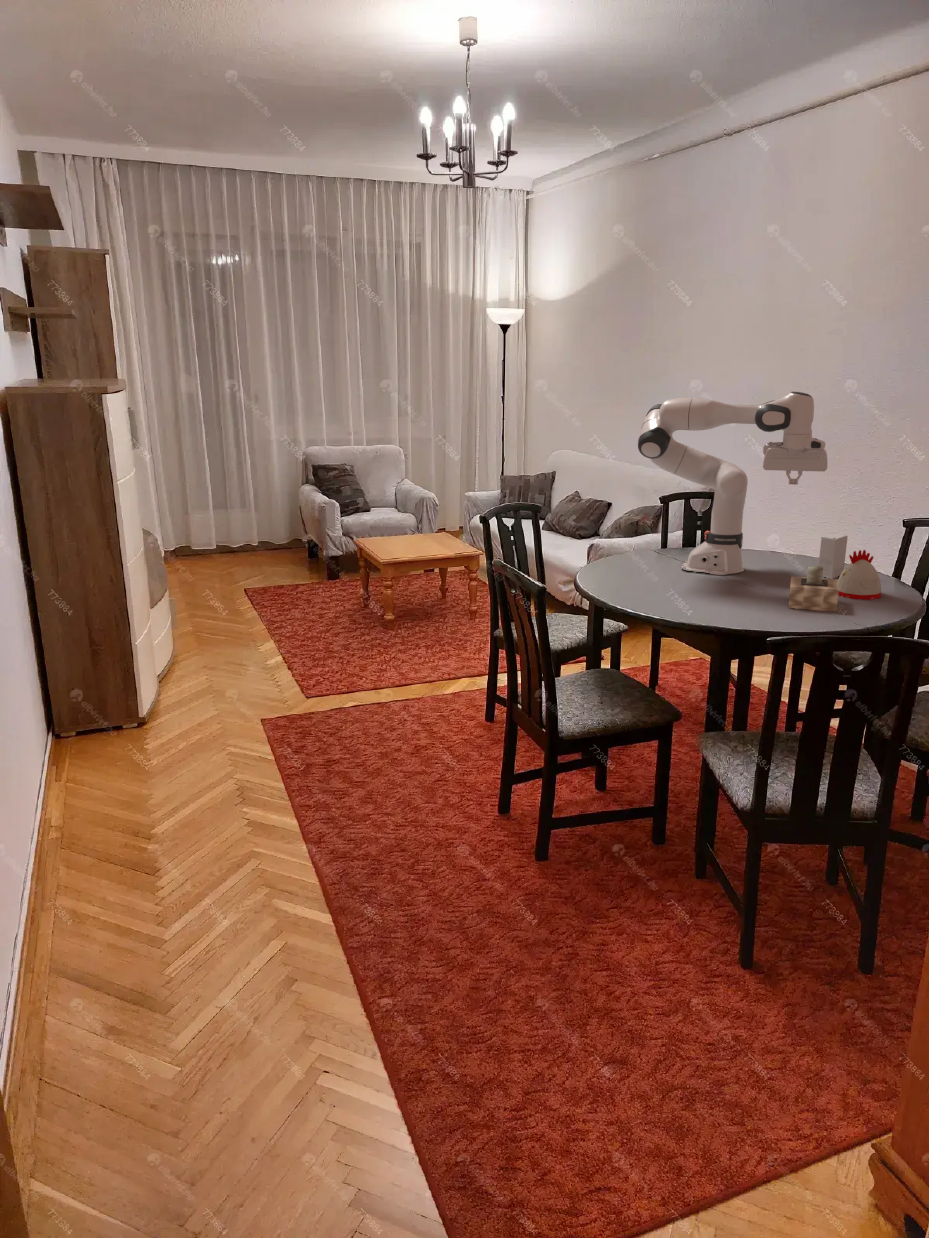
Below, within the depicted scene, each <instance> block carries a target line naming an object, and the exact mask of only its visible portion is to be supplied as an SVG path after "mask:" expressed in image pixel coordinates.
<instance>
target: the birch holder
mask: <svg viewBox="0 0 929 1238" xmlns="http://www.w3.org/2000/svg"><path fill="white" fill-rule="evenodd" d="M838 579H839V578H838ZM838 579H837V578H833V579H829V578H824V577H822V584H807V583H806V582H807V576H806V577H805V576H791V578H790V586H789V597H788V599H789V600H788V606H787V607H788V609H791V608H795V610H805V609H809V610H808V611H821V612H822V611H823V612H833V611H835V612H834V613H836V612H837V610H838V603H839V602H838V600H839V599H838V598H839V596H838V592H839V588H838Z"/></svg>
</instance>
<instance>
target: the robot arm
mask: <svg viewBox="0 0 929 1238" xmlns="http://www.w3.org/2000/svg"><path fill="white" fill-rule="evenodd" d="M814 417H815V402H814V397H813V396H812V395H810V394H809V393H805V392H800V391H790V392H789V393H787V394H786V395H784V396H782V397H780V398H778V399H773V400H770V401H766V402H765V403H762V404H756V405H754V404H752V405H751V404H749V405H748V404H731V403H730V404H729V403H724V402H721V401H717V400H714V399H709V398H702V397H679V398H678V397H677V398H669V399H667V400H664V401H663V402H662V403H658V404H655V405H652V407H651V408H650V409H649V410H648V412H647V413H646V415H645V418H644V421H643V422H642V425H641V429H640V433H639V437H638V440H637V448H638V451H639V453H640V454H641V456H643V457H644V458H647V459H649V460H650V462H652V463H653V464H654V465H655V466H657V467H659V468H660V469H663V470H664V471H667V472H668V473H670V474H672V475H675V476H678V477H680V478H682V479H685V480H687V481H689V482H692V483H696V484H698V485H701V486H704V487H706V488H710V489H712V490H714V495H713V503H712V508H711V519H710V530H706V531H705V532H704V541H703V542H702V543H701V544H699V545H698V546H696V547H695V548H693V549H692V550H691V551H690V552H689V555H688V558H687V561H686V562H684V563H682V565H684V566H682V565H681V567H682V568H683V567H684V568H686V569H687V570H691V571H696V572H706V573H710V574H709V575H717V576H726V575H732V574H738V573H742V572H744V565H743V558H742V548H743V540H744V537H743V536H744V534H743V531H742V530H743V517H744V508H745V504H746V498H747V491H748V490H747V489H748V484H749V483H748V481H749V480H748V475H747V474H746V472H745V471H744V470H743V469H741V467H739V466H738V465H736V464H734V463H733V462H731V461H727V460H724V459H722V458H719V457H716V456H713V455H711V454H708V453H706V452H703V451H700V450H698V449H695V448H694V447H690V446H688V445H685V444H684V443H681V442H678V441H676V440H675V439H674V437H673V433H674V432H676V431H693V432H694V431H696V432H697V431H698V432H699V431H707V430H712V429H714V428H717V427H720V426H723V425H725V426H726V425H731V424H736V425H738V424H741V425H742V424H743V425H747V424H748V425H756V427H757V428H758V429H759V430H761V431H762V432H765V433H774V432H776V431H781V430H782V431H783V434H782V435H783V437H782V441H781V442H780V441H776V442H773V441H770V442H769V441H768V443H765V444H764V445H763V449H762V453H763V455H764V459H763V463H762V468H763V470H764V471H784V472H785V474H786V477H787V479H788V485H797V486H798V485H799V480H800V478H801V477H802V475H803V472H826V471H827V469H828V453H827V450H826V449H825V448H826V442H825V441H824V440H822V439H819V438H815V437H813V436H812V435H813V429H812V425H813V421H814ZM791 472H797V477H796V478H792V477H791ZM696 572H695V573H696Z"/></svg>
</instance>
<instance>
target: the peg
mask: <svg viewBox="0 0 929 1238" xmlns="http://www.w3.org/2000/svg"><path fill="white" fill-rule="evenodd" d="M822 575H823V567H820V566H818V565H808V566H807V572H806V577H807V582H806V583H807V584H822V578H823V577H822Z"/></svg>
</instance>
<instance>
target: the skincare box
mask: <svg viewBox="0 0 929 1238" xmlns="http://www.w3.org/2000/svg"><path fill="white" fill-rule="evenodd" d="M847 544H848V535H846V534H842V533H841V534H839V533H835V532H832V533H829V534H827V535H823V536H821V538H820V548H819V557H818V565H817V566H820V567H823V575H822V578H824V577H826V578H825V579H829V578H833V579H837V578H839V577H840V575H841V573H842V571H843V570H844V569H845V562H846V553H847ZM838 576H839V577H838Z"/></svg>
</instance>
